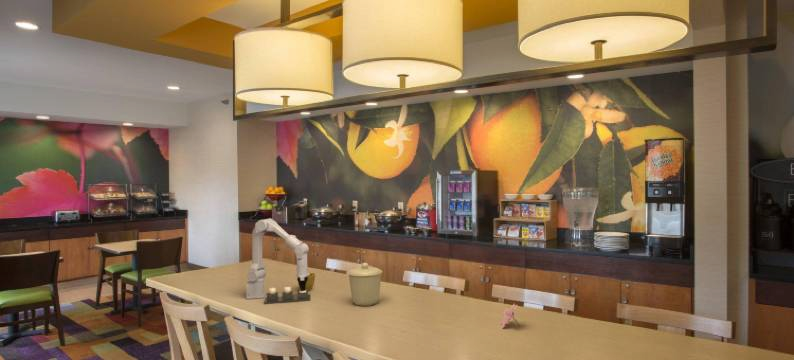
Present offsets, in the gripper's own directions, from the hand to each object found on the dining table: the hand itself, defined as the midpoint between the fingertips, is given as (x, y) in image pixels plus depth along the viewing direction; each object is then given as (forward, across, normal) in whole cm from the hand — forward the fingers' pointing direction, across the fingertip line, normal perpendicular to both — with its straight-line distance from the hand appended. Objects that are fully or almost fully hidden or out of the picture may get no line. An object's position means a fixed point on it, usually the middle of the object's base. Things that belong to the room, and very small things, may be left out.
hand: (302, 291), depth 248 cm
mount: (+4, 0, +8) cm, 9 cm away
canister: (+5, -18, -32) cm, 37 cm away
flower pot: (+4, +20, -2) cm, 21 cm away
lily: (+5, -70, -88) cm, 112 cm away
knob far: (+3, 0, 0) cm, 3 cm away
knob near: (+1, 0, +16) cm, 16 cm away
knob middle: (+1, 0, +8) cm, 8 cm away
